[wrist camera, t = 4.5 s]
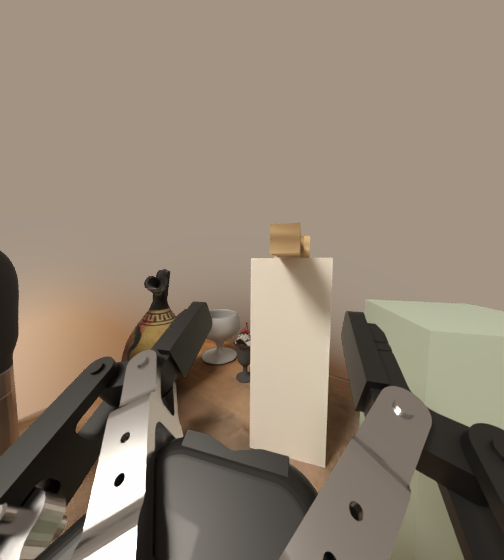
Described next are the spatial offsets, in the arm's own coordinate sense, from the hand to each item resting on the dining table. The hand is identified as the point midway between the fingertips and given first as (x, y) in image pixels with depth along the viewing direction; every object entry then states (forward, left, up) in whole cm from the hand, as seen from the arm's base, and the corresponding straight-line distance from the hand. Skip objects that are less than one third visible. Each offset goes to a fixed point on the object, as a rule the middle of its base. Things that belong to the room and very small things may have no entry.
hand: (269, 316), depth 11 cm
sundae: (-29, +25, -28) cm, 48 cm away
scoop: (-10, +17, +4) cm, 20 cm away
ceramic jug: (-42, +7, -28) cm, 51 cm away
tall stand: (-12, +21, -28) cm, 37 cm away
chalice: (-44, +27, -28) cm, 59 cm away
